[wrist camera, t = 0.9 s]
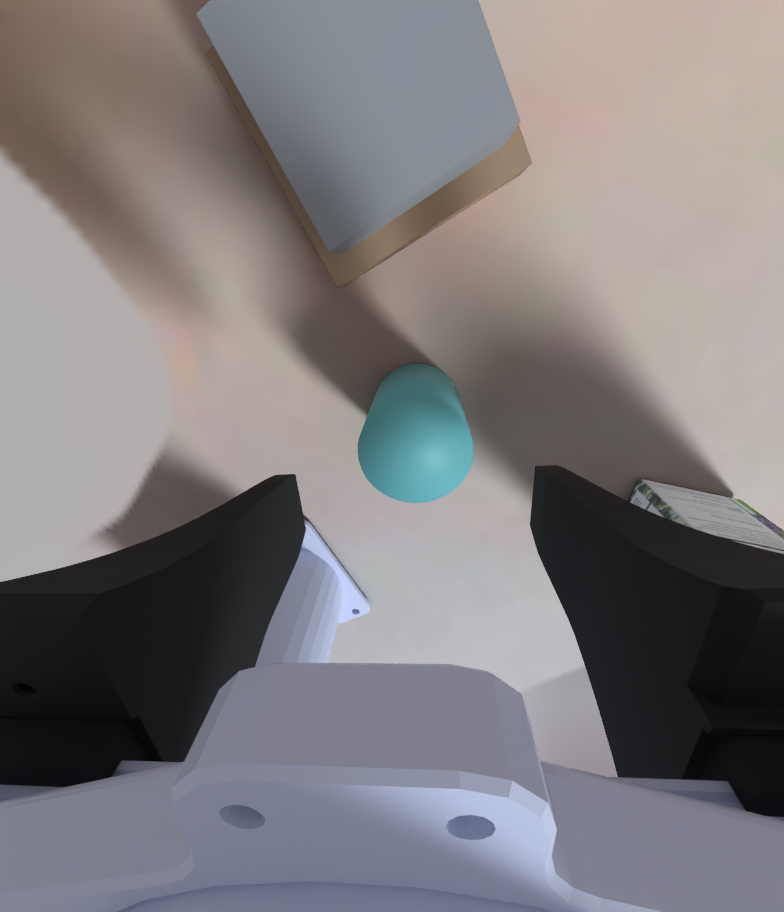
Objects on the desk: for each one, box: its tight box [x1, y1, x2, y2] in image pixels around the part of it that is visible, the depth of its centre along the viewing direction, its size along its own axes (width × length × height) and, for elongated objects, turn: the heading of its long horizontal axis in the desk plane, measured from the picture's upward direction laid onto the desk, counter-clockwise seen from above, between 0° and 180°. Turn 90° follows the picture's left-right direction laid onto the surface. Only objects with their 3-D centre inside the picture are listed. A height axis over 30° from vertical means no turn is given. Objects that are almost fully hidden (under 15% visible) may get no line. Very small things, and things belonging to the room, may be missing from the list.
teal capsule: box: [358, 363, 474, 503], centre depth 18 cm, size 4×4×6 cm
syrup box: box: [628, 479, 784, 554], centre depth 16 cm, size 6×6×14 cm
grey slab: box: [196, 0, 520, 254], centre depth 13 cm, size 7×7×2 cm
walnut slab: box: [206, 46, 532, 287], centre depth 15 cm, size 8×8×2 cm
